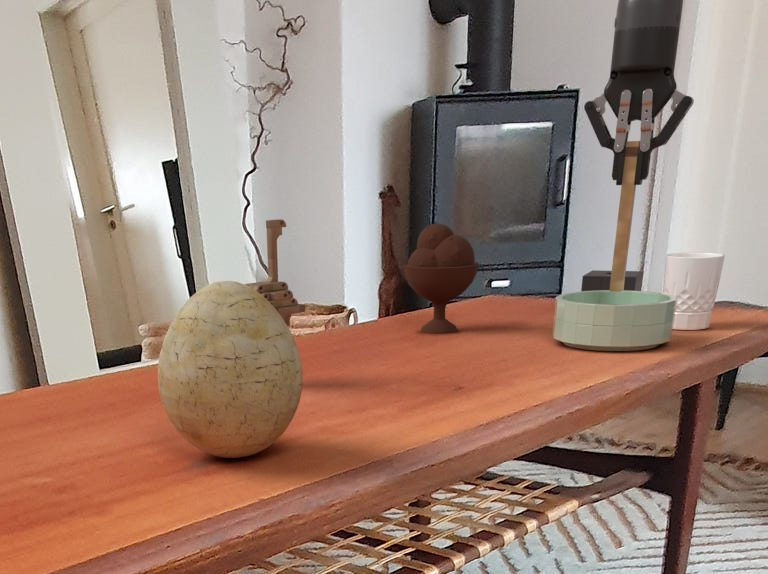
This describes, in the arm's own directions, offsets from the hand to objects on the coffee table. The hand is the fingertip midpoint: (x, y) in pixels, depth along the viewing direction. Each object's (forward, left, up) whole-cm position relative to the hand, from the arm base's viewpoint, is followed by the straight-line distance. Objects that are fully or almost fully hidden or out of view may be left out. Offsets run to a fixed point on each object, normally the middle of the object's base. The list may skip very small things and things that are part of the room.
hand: (628, 184), depth 125 cm
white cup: (-8, -17, -20) cm, 27 cm away
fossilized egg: (+22, +68, -20) cm, 74 cm away
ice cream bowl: (+26, -4, -20) cm, 33 cm away
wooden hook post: (+35, +44, -20) cm, 60 cm away
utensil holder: (+5, -29, -20) cm, 35 cm away
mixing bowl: (0, 0, -20) cm, 20 cm away
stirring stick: (0, 0, -13) cm, 13 cm away
